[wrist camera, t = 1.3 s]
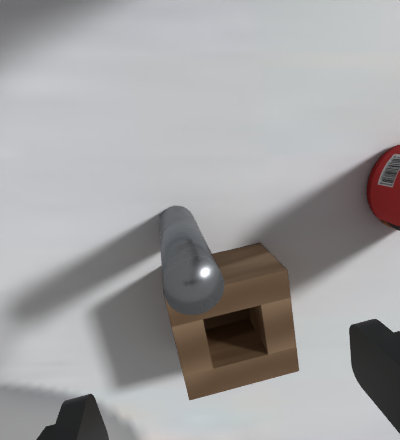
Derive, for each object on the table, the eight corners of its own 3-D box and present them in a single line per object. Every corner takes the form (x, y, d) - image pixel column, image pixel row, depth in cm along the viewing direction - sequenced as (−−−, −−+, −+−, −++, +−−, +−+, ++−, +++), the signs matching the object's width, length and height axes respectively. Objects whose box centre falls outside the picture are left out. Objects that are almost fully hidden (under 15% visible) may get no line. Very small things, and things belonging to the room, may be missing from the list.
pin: (155, 209, 26) (157, 266, 15) (190, 202, 26) (219, 252, 15) (163, 243, 27) (170, 321, 16) (197, 235, 27) (228, 306, 16)
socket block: (162, 265, 28) (164, 299, 22) (260, 242, 28) (287, 269, 23) (182, 350, 30) (189, 400, 24) (271, 327, 31) (299, 370, 25)
